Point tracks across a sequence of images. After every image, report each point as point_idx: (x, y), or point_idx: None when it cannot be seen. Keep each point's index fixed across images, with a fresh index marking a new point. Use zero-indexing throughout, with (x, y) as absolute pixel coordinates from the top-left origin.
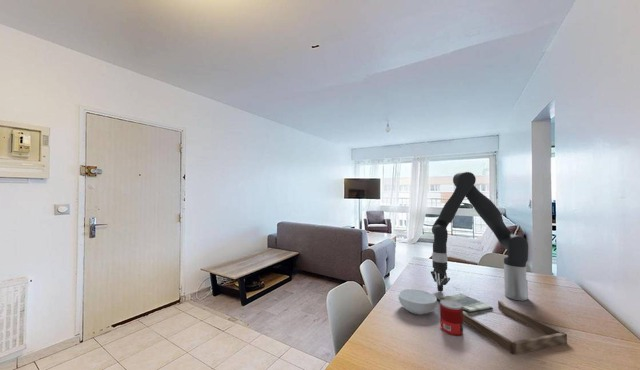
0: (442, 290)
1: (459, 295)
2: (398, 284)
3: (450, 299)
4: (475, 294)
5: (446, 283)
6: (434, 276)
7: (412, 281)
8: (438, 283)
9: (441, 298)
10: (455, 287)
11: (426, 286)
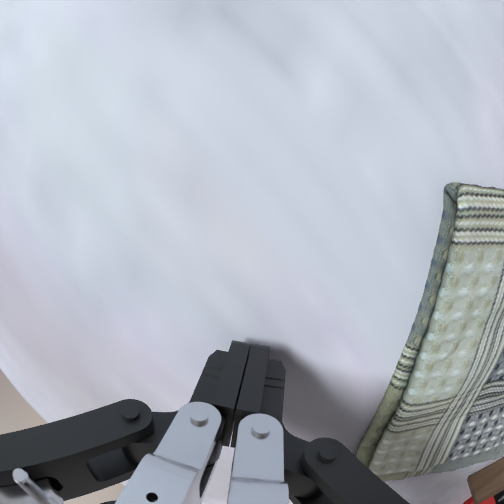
0: (281, 373)
1: (486, 295)
2: None
3: (446, 428)
4: (463, 3)
5: (367, 477)
6: (91, 486)
7: (5, 334)
8: (217, 453)
9: (389, 468)
10: (198, 5)
11: (81, 337)
